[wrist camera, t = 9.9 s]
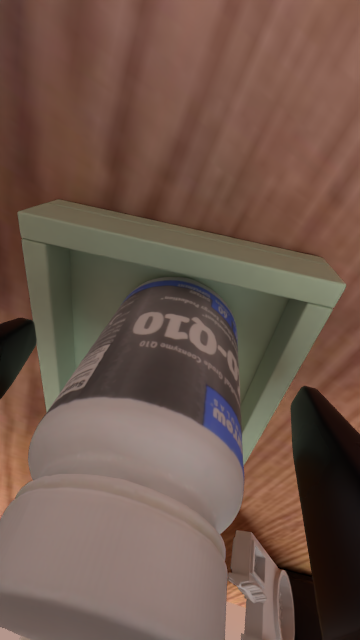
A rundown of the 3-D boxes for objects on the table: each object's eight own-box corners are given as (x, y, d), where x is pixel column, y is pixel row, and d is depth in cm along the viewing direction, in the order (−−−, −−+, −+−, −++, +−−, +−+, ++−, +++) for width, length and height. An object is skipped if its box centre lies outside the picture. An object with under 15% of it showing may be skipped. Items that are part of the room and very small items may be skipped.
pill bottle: (263, 320, 10) (342, 697, 3) (191, 387, 13) (148, 687, 6) (156, 246, 9) (-57, 548, 2) (101, 334, 12) (-85, 612, 5)
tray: (184, 542, 24) (180, 576, 22) (78, 516, 24) (66, 547, 22) (324, 257, 10) (348, 285, 8) (57, 198, 10) (15, 211, 8)
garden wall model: (231, 525, 19) (217, 652, 15) (256, 528, 18) (249, 664, 14) (280, 587, 24) (281, 696, 20) (302, 592, 24) (308, 706, 19)
